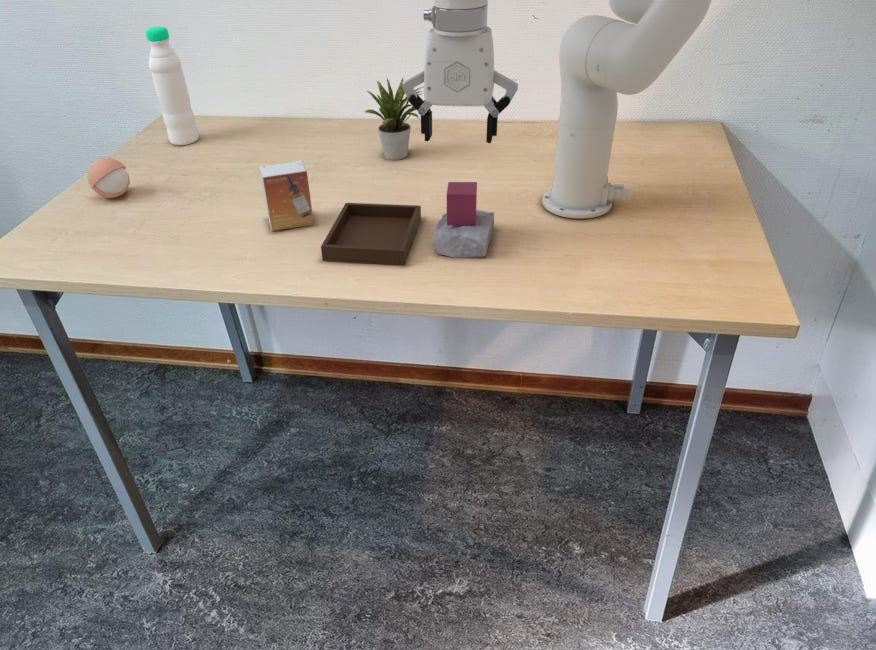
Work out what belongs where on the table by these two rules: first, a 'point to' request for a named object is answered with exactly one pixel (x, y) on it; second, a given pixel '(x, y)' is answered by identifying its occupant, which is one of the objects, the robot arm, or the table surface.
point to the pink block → (461, 203)
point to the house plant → (393, 121)
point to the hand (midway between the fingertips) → (458, 139)
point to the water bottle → (171, 88)
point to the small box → (287, 195)
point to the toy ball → (108, 177)
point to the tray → (372, 234)
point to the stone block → (464, 236)
